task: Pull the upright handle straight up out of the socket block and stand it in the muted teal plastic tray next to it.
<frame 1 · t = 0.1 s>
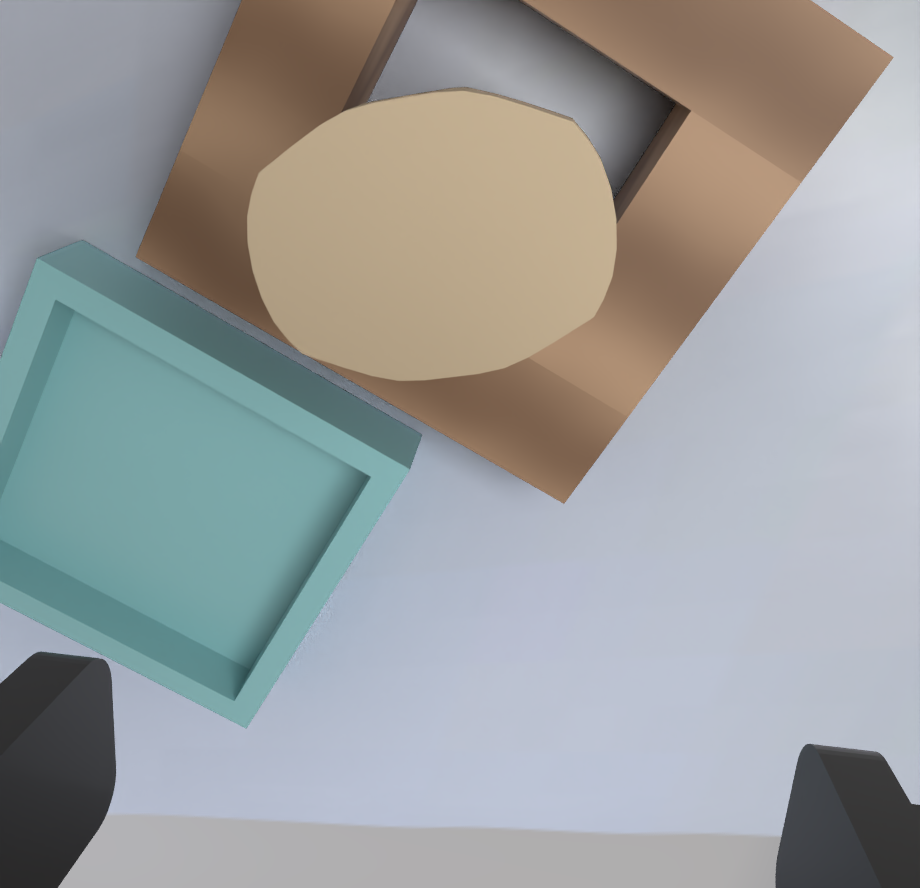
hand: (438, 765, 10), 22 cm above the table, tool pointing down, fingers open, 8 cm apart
tray: (185, 483, 35), on the table
socket block: (490, 152, 29), on the table
handle: (491, 152, 29), resting in socket block
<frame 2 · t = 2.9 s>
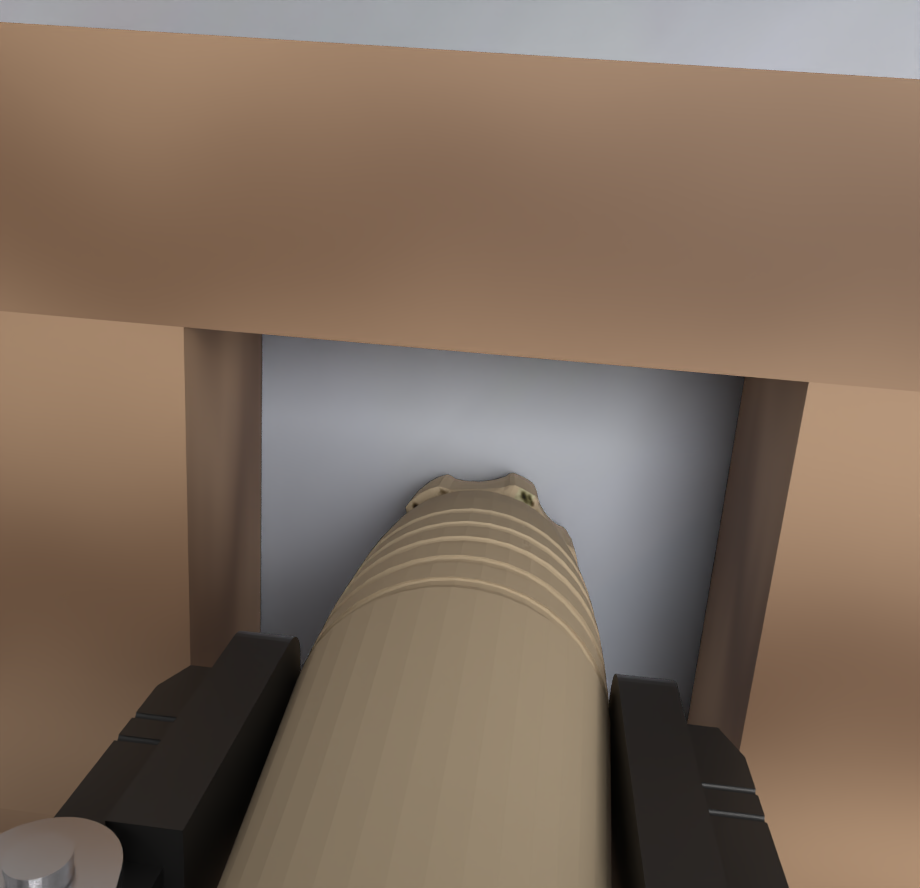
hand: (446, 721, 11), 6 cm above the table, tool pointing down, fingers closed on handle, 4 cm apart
socket block: (482, 543, 17), on the table
handle: (483, 539, 17), resting in socket block, touching gripper
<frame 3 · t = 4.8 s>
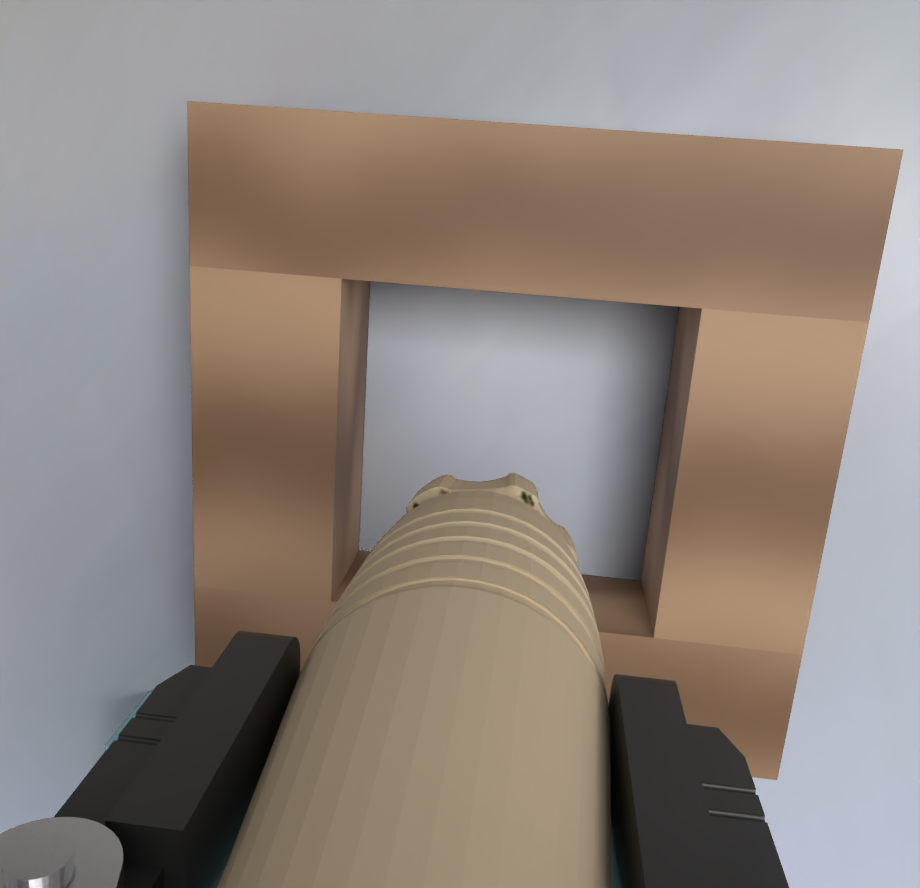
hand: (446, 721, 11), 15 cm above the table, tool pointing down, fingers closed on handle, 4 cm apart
socket block: (510, 429, 25), on the table
handle: (483, 539, 17), point 9 cm above the table, touching gripper
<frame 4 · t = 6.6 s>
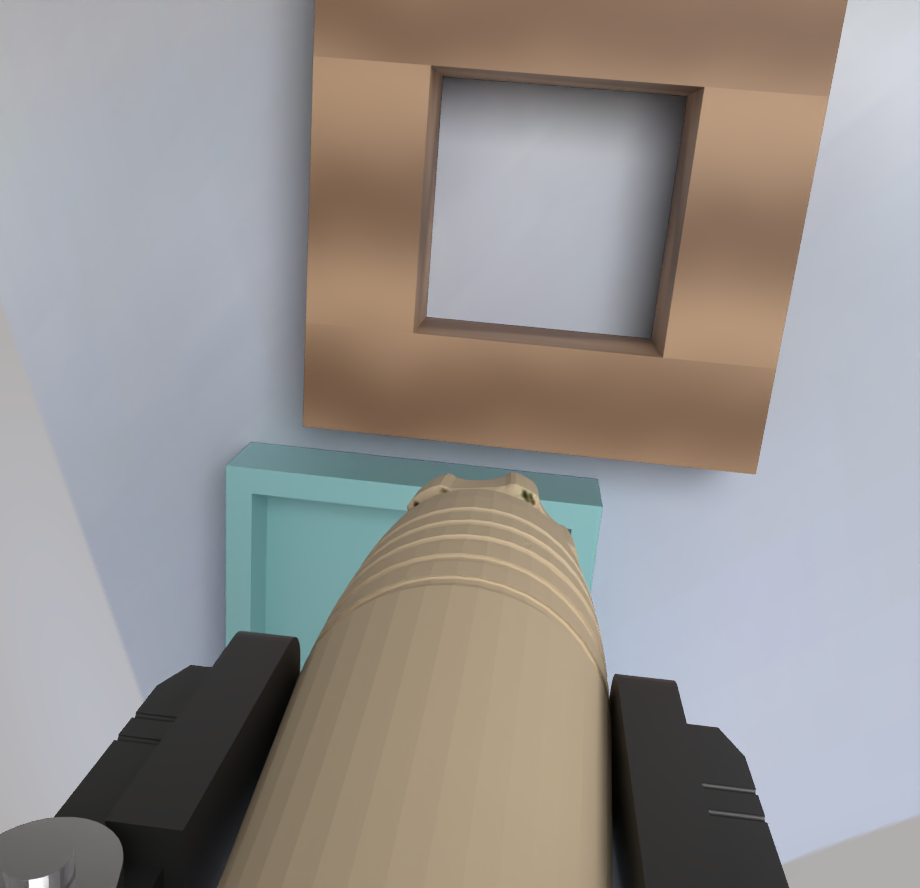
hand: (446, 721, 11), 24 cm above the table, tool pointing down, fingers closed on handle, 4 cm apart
tray: (411, 616, 37), on the table
socket block: (550, 211, 32), on the table
handle: (484, 537, 17), point 18 cm above the table, touching gripper
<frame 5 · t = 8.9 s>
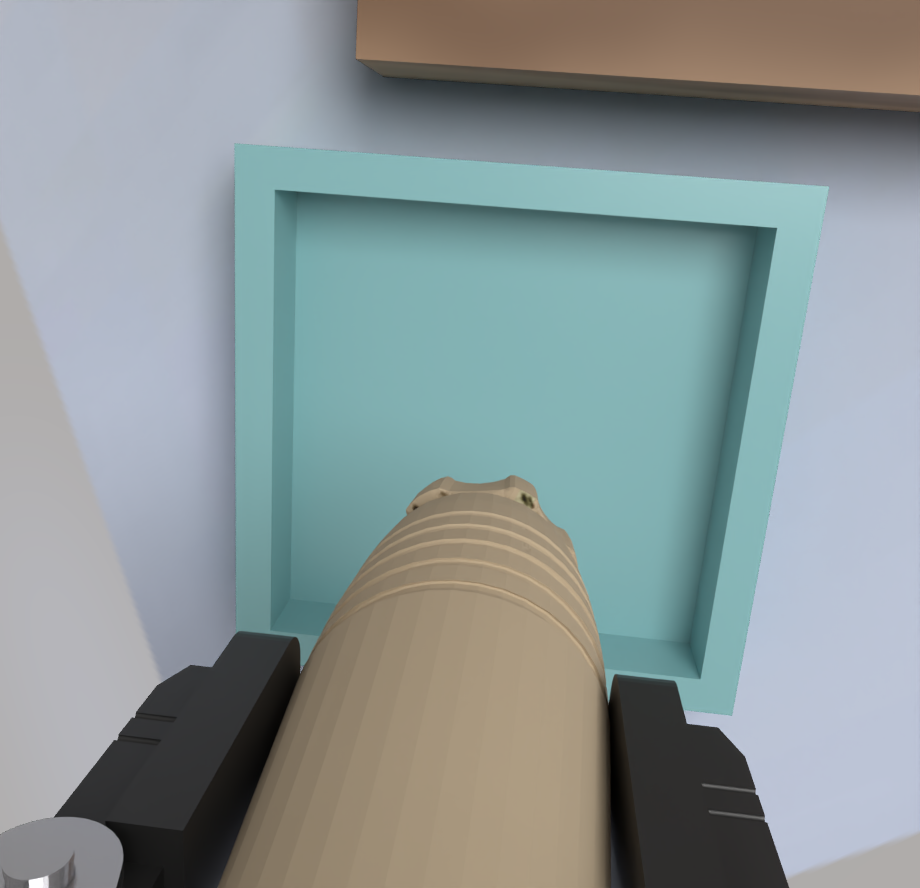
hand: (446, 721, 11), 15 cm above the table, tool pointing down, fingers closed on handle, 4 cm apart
tray: (505, 418, 26), on the table
handle: (483, 541, 17), point 9 cm above the table, touching gripper
when the fingers open (8 cm above the table, at t = 10.6 s): handle drops 1 cm, resting on tray.
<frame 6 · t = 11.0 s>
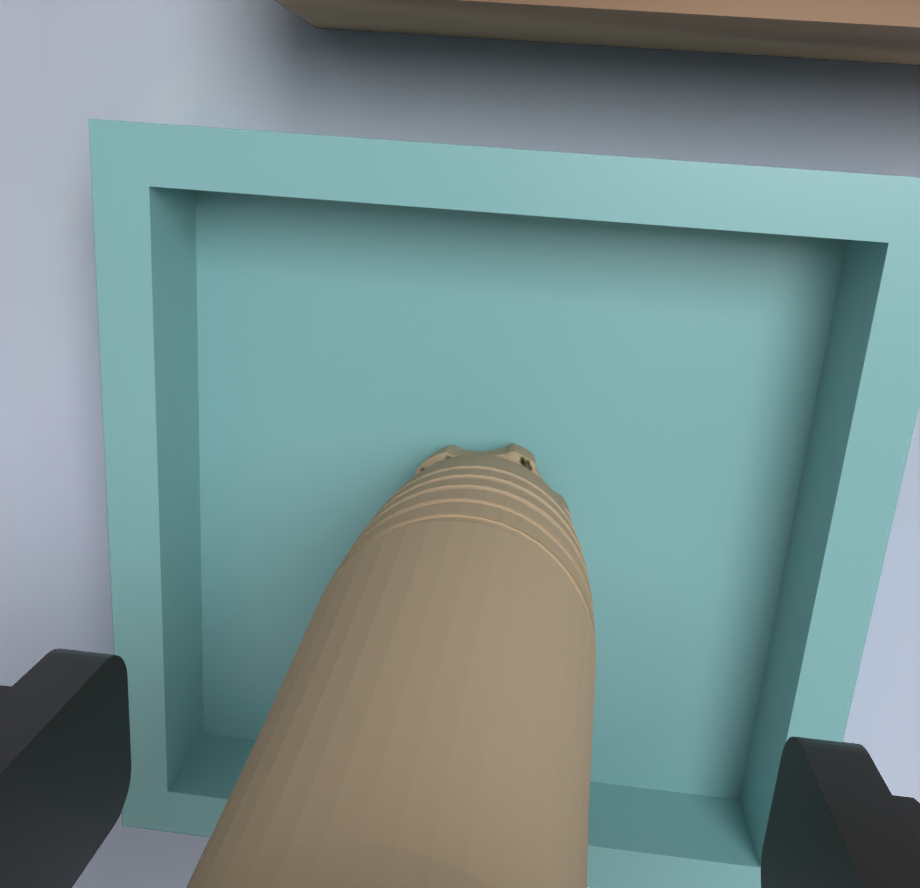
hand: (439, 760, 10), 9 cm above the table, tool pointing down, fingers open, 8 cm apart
tray: (490, 498, 19), on the table
handle: (486, 506, 18), point 1 cm above the table, touching tray
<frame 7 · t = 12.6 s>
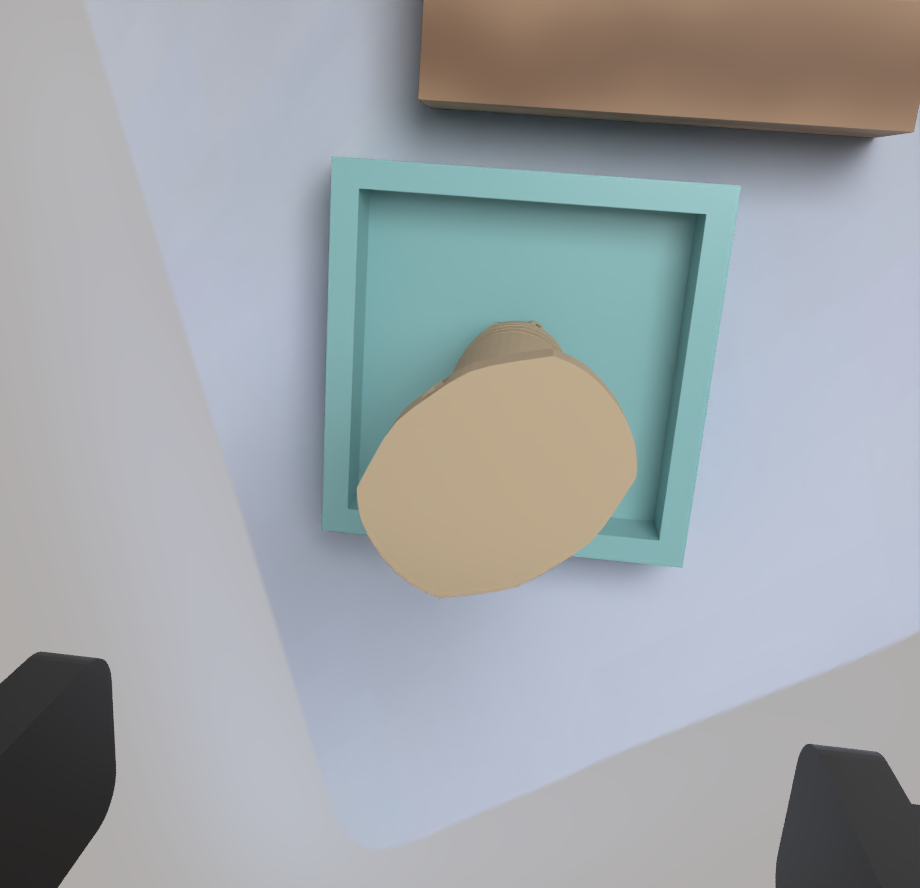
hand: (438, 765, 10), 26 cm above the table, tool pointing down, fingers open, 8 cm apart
tray: (517, 356, 35), on the table
handle: (516, 357, 34), point 1 cm above the table, touching tray
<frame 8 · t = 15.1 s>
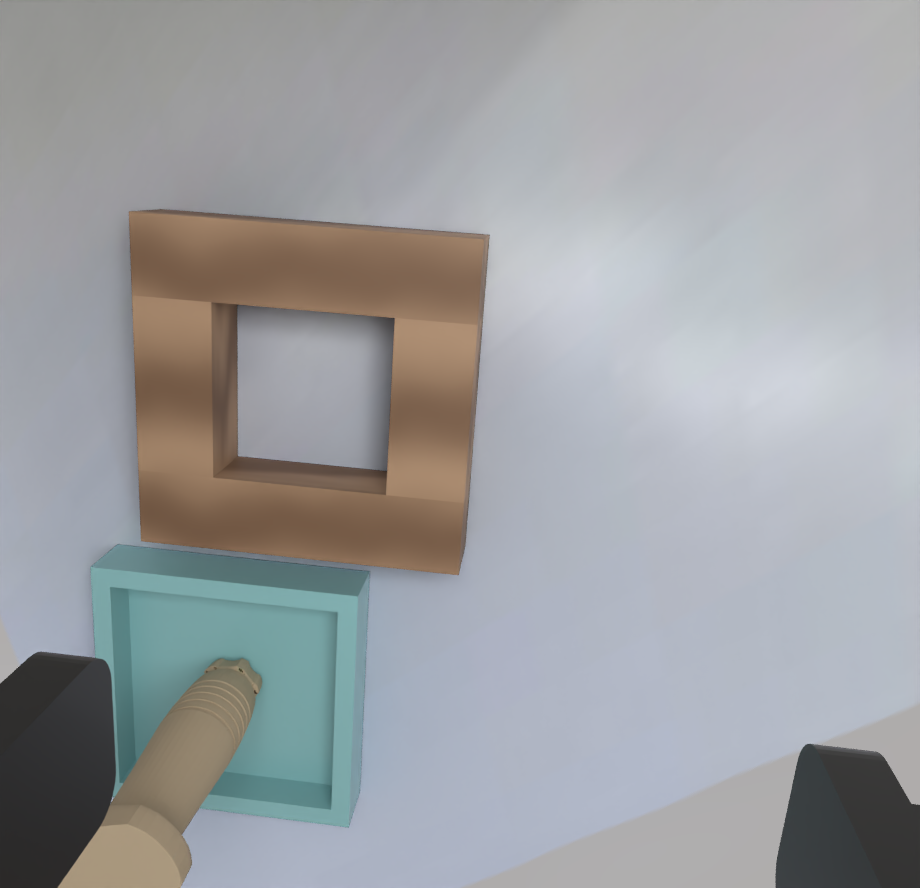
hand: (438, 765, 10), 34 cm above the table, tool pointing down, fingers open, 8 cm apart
tray: (242, 671, 50), on the table
socket block: (319, 384, 45), on the table
handle: (237, 677, 49), point 1 cm above the table, touching tray
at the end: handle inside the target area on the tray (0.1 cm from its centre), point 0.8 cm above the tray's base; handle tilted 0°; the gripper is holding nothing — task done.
